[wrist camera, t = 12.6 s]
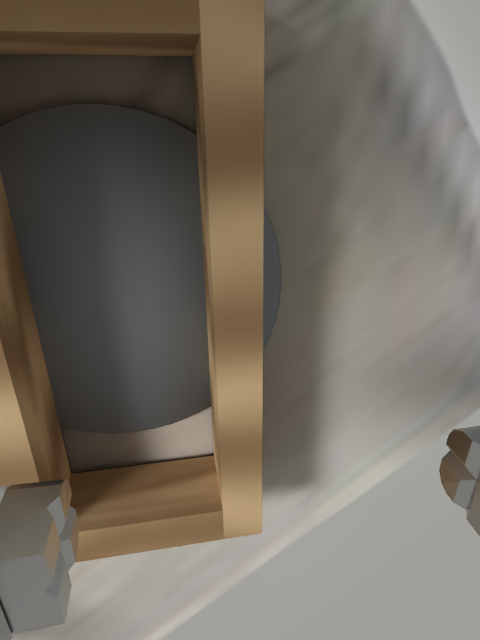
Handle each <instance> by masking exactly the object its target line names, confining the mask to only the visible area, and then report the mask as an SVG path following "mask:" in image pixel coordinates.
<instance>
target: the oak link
mask: <svg viewBox="0 0 480 640" xmlns="http://www.w3.org/2000/svg"><path fill="white" fill-rule="evenodd" d="M264 22H265V0H0V54H34V55H175V56H193V73H194V92H195V110H196V129H197V147H198V166H199V184H200V203H201V221H202V240H203V258H204V277H205V295H206V314H207V332H208V351H209V369H210V388H211V407H212V425H213V444H214V456H207V457H199V458H191V459H184V460H176V461H168V462H160V463H152V464H145V465H137V466H129V467H121V468H114V469H106V470H98V471H90V472H82V473H75V474H71V471H70V467H69V462H68V458H67V454H66V450H65V445H64V441H63V437H62V433H61V428H60V424H59V420H58V416H57V411H56V407H55V403H54V399H53V394H52V390H51V386H50V381H49V377H48V373H47V369H46V364H45V360H44V356H43V351H42V347H41V343H40V339H39V334H38V330H37V326H36V322H35V317H34V313H33V309H32V304H31V300H30V296H29V292H28V287H27V283H26V279H25V275H24V270H23V266H22V262H21V257H20V253H19V249H18V245H17V240H16V236H15V232H14V228H13V223H12V219H11V215H10V210H9V206H8V202H7V198H6V193H5V189H4V185H3V181H2V176H1V172H0V487H1V486H10V485H15V484H24V483H34V482H44V481H53V480H63V479H66V480H68V481H69V484H70V488H71V491H72V496H71V500H70V506H71V507H73V508H74V509H75V510H76V513H77V517H78V526H79V539H78V551H77V557H76V562H81V561H87V560H94V559H100V558H106V557H113V556H119V555H125V554H132V553H138V552H144V551H151V550H157V549H164V548H170V547H176V546H183V545H189V544H195V543H202V542H208V541H214V540H221V539H227V538H233V537H240V536H246V535H252V534H259V533H262V431H263V226H264Z"/></svg>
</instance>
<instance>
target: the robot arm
mask: <svg viewBox="0 0 480 640" xmlns="http://www.w3.org/2000/svg"><path fill="white" fill-rule="evenodd" d="M446 444H447V446H448V447H449V449H450V451H449V452H448V453H447V454H446V455H445V456H444V457H443V458H442V461H441V465H440V470H439V471H440V476H441V482H442V485H443V487H444V489H445V491H446V493H447V494H448V496H449V497H450V498H451V500H452V501H453V502H454V503H456V504H457V505H459V506H461V507H463V508H464V509H466V512H467V520H468V522H469V523H470V524H471V526H472V527H473V528H474V530H475V531H476V532H477V533H478V535H479V536H480V426H476V427H468V428H461V429H454V430H453V431H452V432H451V433H450V434H449V436H448V439H447V443H446ZM71 496H72V491H71V488H70V484H69V481H68V480H66V479H63V480H53V481H44V482H34V483H24V484H15V485H10V486H1V487H0V640H11V639H12V634H14V633H19V632H24V631H29V630H33V629H38V628H43V627H48V626H53V625H57V624H62V623H65V618H66V612H67V607H68V601H69V596H70V591H71V581H70V577H69V573H68V570H69V569H70V568H71V567H72V566H73V564H74V563H75V562H76V557H77V551H78V539H79V526H78V517H77V513H76V510H75V509H74V508H73V507H71V506H70V500H71Z"/></svg>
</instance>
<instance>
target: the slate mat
mask: <svg viewBox="0 0 480 640" xmlns="http://www.w3.org/2000/svg"><path fill="white" fill-rule="evenodd" d="M0 172H1V176H2V181H3V185H4V189H5V193H6V198H7V202H8V206H9V210H10V215H11V219H12V223H13V228H14V232H15V236H16V240H17V245H18V249H19V253H20V257H21V262H22V266H23V270H24V275H25V279H26V283H27V287H28V292H29V296H30V300H31V304H32V309H33V313H34V317H35V322H36V326H37V330H38V334H39V339H40V343H41V347H42V351H43V356H44V360H45V364H46V369H47V373H48V377H49V381H50V386H51V390H52V394H53V399H54V403H55V407H56V411H57V416H58V420H59V424H60V426H64V427H68V428H72V429H77V430H84V431H91V432H105V433H122V432H136V431H142V430H148V429H154V428H158V427H161V426H165V425H169V424H172V423H175V422H177V421H180V420H182V419H185V418H188V417H190V416H192V415H194V414H196V413H198V412H200V411H201V410H203V409H205V408H207V407H208V406H210V405H211V388H210V369H209V351H208V332H207V314H206V295H205V277H204V258H203V240H202V221H201V203H200V184H199V166H198V147H197V135H196V134H195V133H193V132H191V131H189V130H187V129H186V128H184V127H182V126H180V125H178V124H176V123H174V122H172V121H170V120H167V119H165V118H162V117H159V116H156V115H154V114H151V113H148V112H145V111H141V110H137V109H132V108H127V107H122V106H118V105H105V104H91V103H89V104H74V105H62V106H57V107H52V108H48V109H43V110H39V111H35V112H32V113H30V114H27V115H24V116H22V117H19V118H17V119H14V120H11V121H9V122H8V123H6V124H4V125H2V126H1V127H0ZM280 289H281V271H280V259H279V253H278V247H277V242H276V239H275V236H274V233H273V229H272V226H271V223H270V221H269V219H268V216H267V214H266V212H265V210H264V226H263V348H264V346H265V344H266V343H267V341H268V338H269V336H270V333H271V330H272V328H273V325H274V323H275V318H276V314H277V310H278V306H279V299H280Z"/></svg>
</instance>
